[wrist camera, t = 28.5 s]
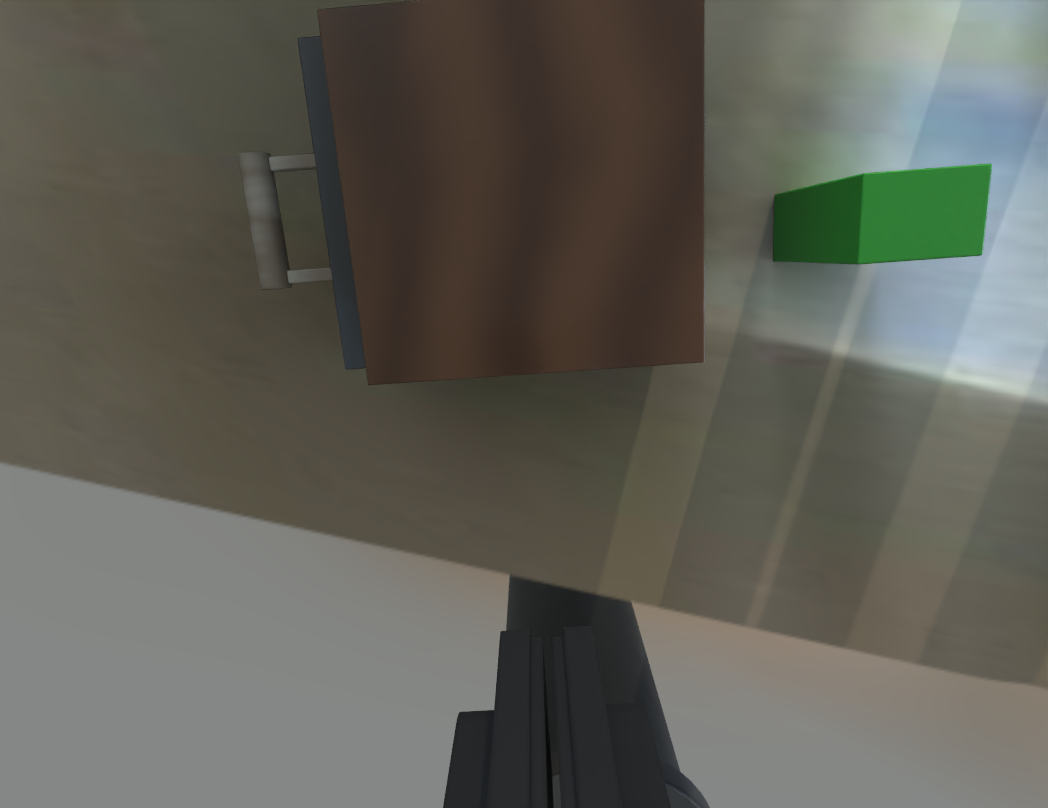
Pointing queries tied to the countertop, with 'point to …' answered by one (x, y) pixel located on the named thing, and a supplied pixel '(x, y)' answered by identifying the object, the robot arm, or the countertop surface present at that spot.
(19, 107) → the countertop surface
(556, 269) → the cabinet
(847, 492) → the countertop surface
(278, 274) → the drawer
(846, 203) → the green rectangular box
